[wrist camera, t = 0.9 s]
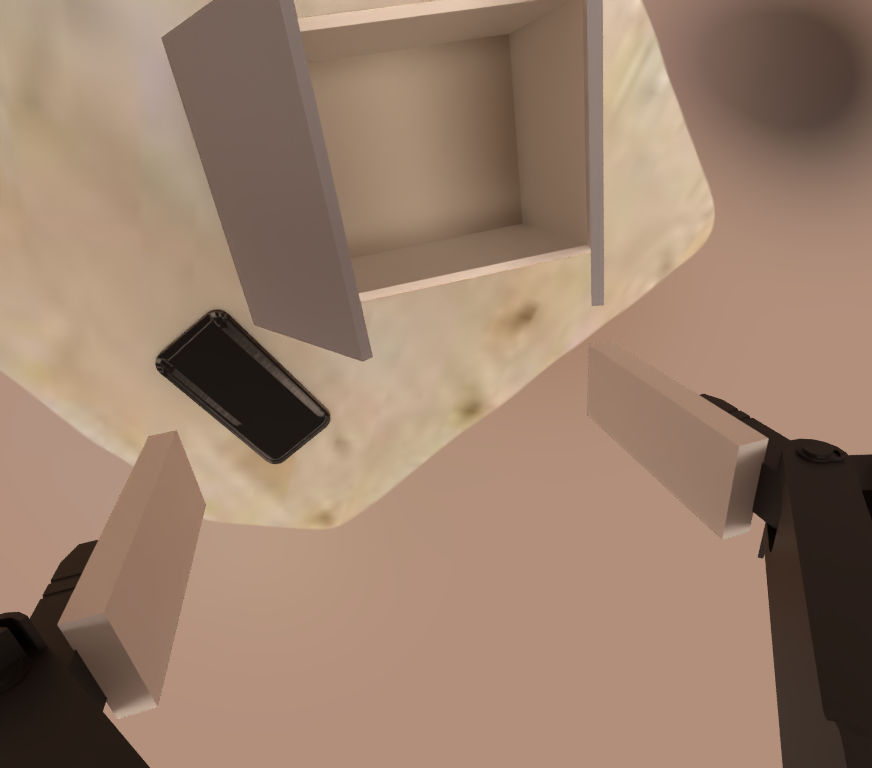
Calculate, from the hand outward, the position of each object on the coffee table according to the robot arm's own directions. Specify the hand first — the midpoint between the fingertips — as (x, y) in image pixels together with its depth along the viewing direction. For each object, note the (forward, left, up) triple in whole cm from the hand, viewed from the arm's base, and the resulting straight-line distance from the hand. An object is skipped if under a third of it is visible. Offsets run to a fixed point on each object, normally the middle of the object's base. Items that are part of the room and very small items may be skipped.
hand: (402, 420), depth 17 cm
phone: (+11, -11, -33) cm, 36 cm away
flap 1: (-6, -3, -14) cm, 16 cm away
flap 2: (-6, +15, -14) cm, 22 cm away
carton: (-6, +6, -32) cm, 33 cm away
